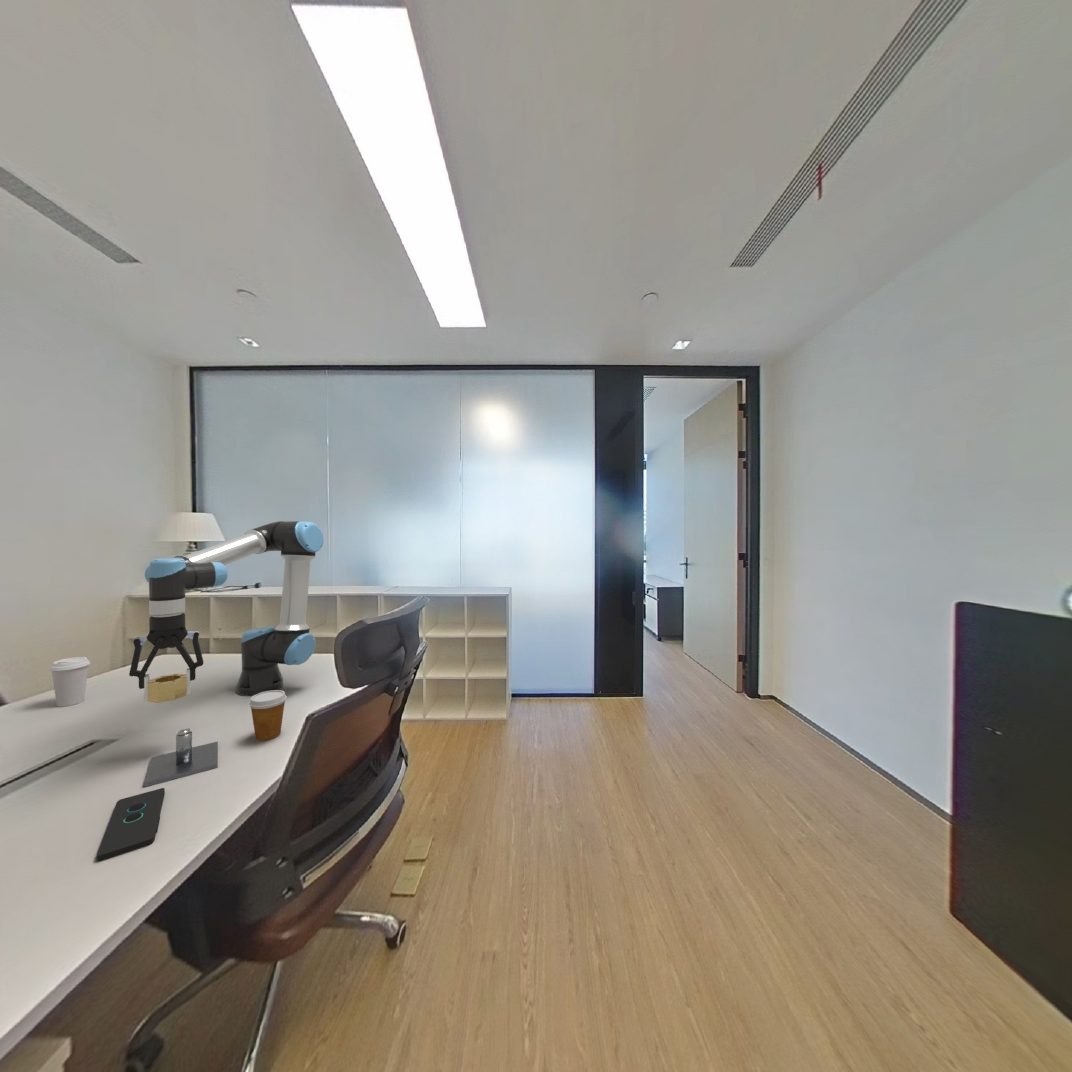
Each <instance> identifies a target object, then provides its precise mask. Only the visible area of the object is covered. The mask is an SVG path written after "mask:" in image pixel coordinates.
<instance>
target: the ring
mask: <svg viewBox="0 0 1072 1072" xmlns="http://www.w3.org/2000/svg"><path fill="white" fill-rule="evenodd" d="M187 695H188V694H187V677H186V673H172V674H165V675H160V676H157V677H155V678H151V679H149V682H148V701H147V703H152V704H153V703H156V704H157V703H158V704H159V703H166V702H172V701H176V700H178V699H181V698H183V697H185V696H187Z"/></svg>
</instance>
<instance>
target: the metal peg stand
mask: <svg viewBox="0 0 1072 1072" xmlns="http://www.w3.org/2000/svg"><path fill="white" fill-rule="evenodd" d="M218 756H219V742H218V741H217V740H216V741H215V742H213V741H212V742H210V743H209V742H208V743H205V744H202V745H197V746H193V731H191V729H190V728H183V729H180V730H178V732H177V734H175V751H172V752H169V753H168V752H167V753H164V754H159V755H154V756H151V757H150V760H149V764H148V768H147V771H146V775H145V778H144V781H143V788H146V787H150V786H154V785H157V784H160V783H165V782H168V781H173V780H177V779H180V778H184V777H187V776H191V775H194V774H195V775H196V774H199V773H202V772H206V771H210V770H214V769H217V768H219V764H218V763H219V761H218V759H219V757H218Z"/></svg>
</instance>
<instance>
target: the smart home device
mask: <svg viewBox="0 0 1072 1072" xmlns="http://www.w3.org/2000/svg"><path fill="white" fill-rule="evenodd" d="M165 793H166V792H165V787H161V788H158V789H154V790H150V791H146V792H142V793H138V794H136V795H131V796H128V797H125V798H121V799H118V800H117V802H116V803H115V806H114V808H113V811H112V814H111V817H110V819H109V821H108V825H107V827H106V829H105V832H104V835H103V837H102V839H101V842H100V845H99V847H98V850H97V852H96V861H97V862H102V861H104V860H108V859H111V858H114V857H117V856H120V855H123V854H126V853H129V852H132V851H136V850H139V849H141V848H144V847H147V846H150V845H152V844H153V843H154V842H155V840H156V835H157V833H158V830H159V825H160V820H161V812H162V808H163V803H164V799H165V795H166V794H165Z"/></svg>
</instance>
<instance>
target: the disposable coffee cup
mask: <svg viewBox="0 0 1072 1072" xmlns="http://www.w3.org/2000/svg"><path fill="white" fill-rule="evenodd" d="M287 698H288V696H287V694H286V692H285V691H284V690H281V689H277V690H272V691H266V692H262V693H259V694H256V695H252V696H251V697H250V701H249V702H248V706H249V707H250V710H251V717H252V722H253V723H252V724H253V730H254V736H255V737H254V738H255V740H256V741H269V740H272V739H275V738H277V737H279V736H280V735H281V734H282V733H281V732H282V723H283V719H284V718H283V717H284V716H283V715H284V712H285V711H284V710H285V703H286V700H287Z"/></svg>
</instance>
